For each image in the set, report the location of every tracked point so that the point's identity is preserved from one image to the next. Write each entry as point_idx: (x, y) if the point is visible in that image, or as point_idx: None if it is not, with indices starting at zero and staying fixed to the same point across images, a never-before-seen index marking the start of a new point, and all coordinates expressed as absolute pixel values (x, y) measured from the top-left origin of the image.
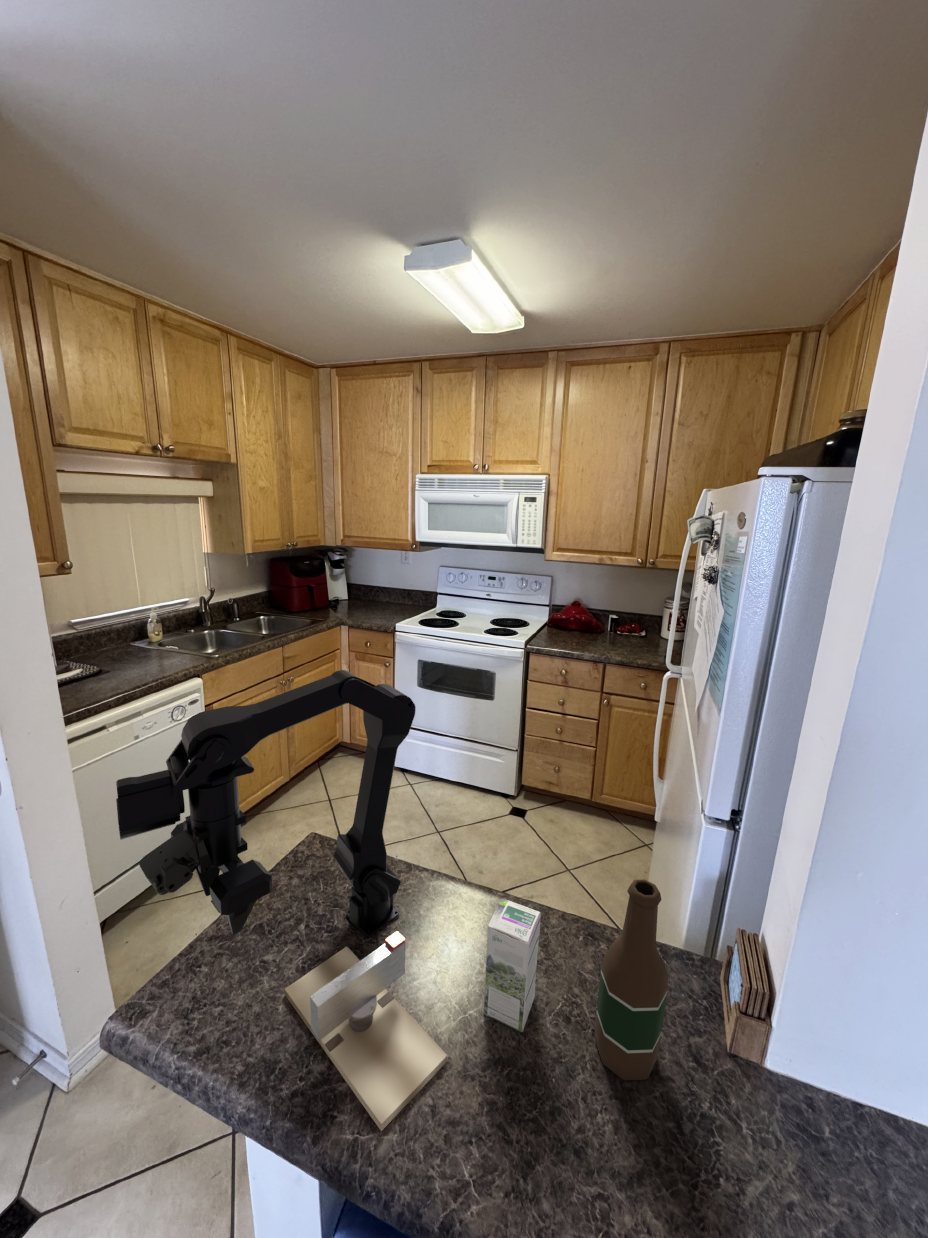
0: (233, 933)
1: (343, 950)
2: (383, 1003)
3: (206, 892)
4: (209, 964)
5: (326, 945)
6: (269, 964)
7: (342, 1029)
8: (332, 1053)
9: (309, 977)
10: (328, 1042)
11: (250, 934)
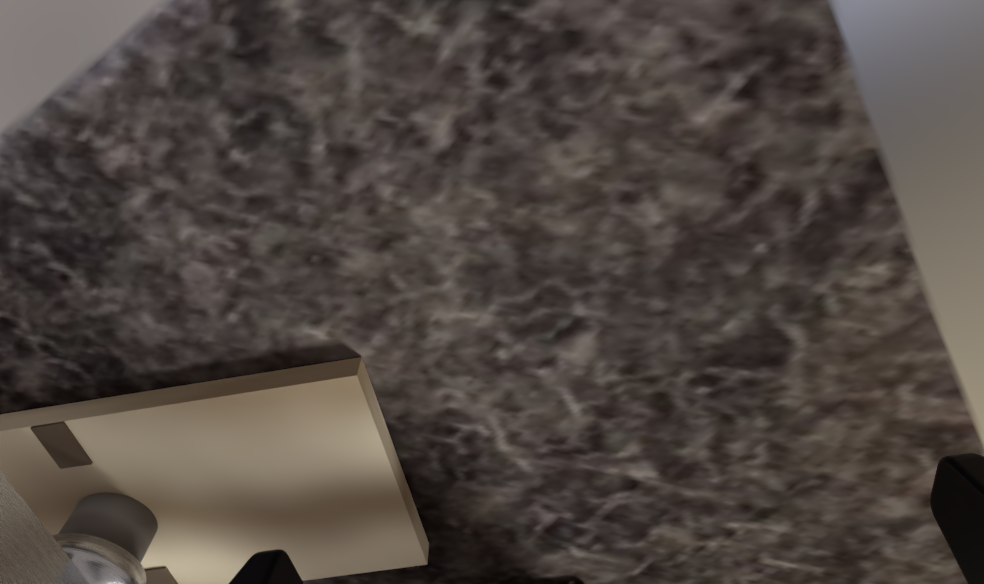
0: (240, 573)
1: (415, 554)
2: (148, 578)
3: (975, 498)
4: (722, 135)
5: (497, 507)
6: (541, 343)
7: (101, 475)
8: (24, 431)
9: (363, 450)
10: (63, 434)
11: (755, 317)
